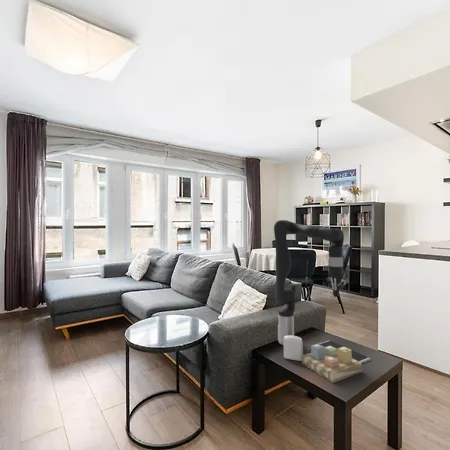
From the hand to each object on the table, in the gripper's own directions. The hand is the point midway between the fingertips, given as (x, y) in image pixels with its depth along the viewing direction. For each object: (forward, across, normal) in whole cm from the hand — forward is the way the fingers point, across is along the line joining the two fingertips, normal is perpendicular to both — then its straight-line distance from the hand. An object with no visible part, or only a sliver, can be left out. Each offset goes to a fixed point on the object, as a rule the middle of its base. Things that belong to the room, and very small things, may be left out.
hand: (336, 296), depth 156 cm
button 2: (+32, +2, -7) cm, 33 cm away
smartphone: (+34, -2, +6) cm, 34 cm away
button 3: (+32, +12, -17) cm, 37 cm away
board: (+33, +7, -12) cm, 36 cm away
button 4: (+29, +11, -8) cm, 32 cm away
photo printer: (+33, -10, -22) cm, 41 cm away
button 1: (+29, +2, -16) cm, 33 cm away
